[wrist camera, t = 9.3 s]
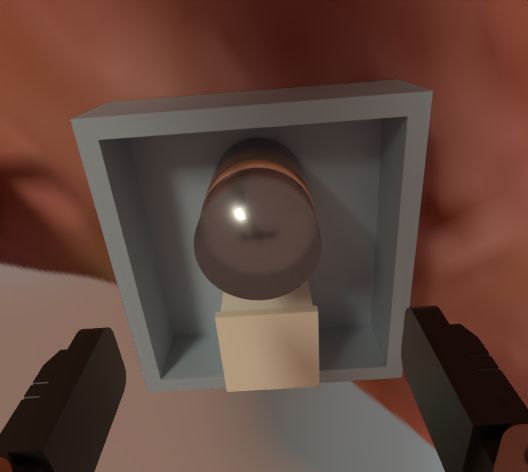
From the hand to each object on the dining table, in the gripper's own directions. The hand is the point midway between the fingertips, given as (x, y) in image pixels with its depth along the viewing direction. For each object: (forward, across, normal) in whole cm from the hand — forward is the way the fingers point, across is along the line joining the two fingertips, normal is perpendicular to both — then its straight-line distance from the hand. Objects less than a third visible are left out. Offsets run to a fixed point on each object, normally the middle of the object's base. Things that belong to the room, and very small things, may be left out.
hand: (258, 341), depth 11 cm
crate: (+15, 0, +4) cm, 15 cm away
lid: (+9, 0, +8) cm, 12 cm away
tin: (+14, 0, 0) cm, 14 cm away
